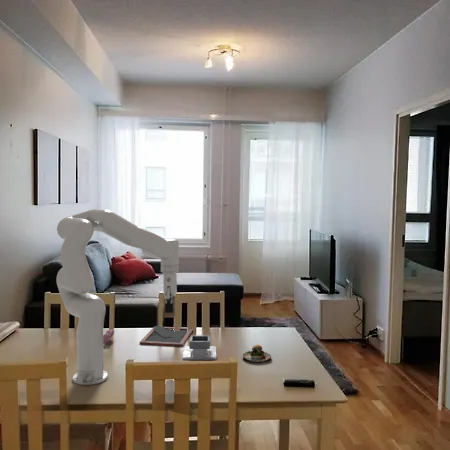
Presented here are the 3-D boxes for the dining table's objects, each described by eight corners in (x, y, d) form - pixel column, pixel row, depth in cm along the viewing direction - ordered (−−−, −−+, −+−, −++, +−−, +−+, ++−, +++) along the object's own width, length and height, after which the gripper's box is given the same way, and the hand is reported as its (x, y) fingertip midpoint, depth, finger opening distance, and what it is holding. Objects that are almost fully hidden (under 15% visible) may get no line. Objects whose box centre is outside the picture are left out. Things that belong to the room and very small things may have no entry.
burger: (238, 361, 198) (238, 344, 198) (248, 353, 209) (248, 336, 209) (265, 366, 194) (266, 348, 193) (274, 357, 204) (275, 340, 204)
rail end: (174, 317, 202) (174, 298, 201) (163, 317, 202) (163, 298, 201) (175, 314, 206) (175, 296, 206) (164, 314, 206) (164, 296, 205)
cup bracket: (216, 359, 200) (216, 343, 199) (182, 359, 199) (182, 343, 199) (216, 348, 214) (216, 333, 213) (184, 348, 213) (184, 333, 213)
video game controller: (105, 349, 216) (112, 335, 215) (96, 344, 215) (103, 331, 215) (110, 342, 225) (117, 329, 225) (102, 337, 225) (108, 324, 225)
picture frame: (154, 329, 243) (139, 345, 218) (154, 325, 243) (139, 341, 218) (193, 331, 240) (182, 348, 216) (193, 327, 240) (182, 343, 215)
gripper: (177, 271, 194) (176, 316, 195) (180, 265, 211) (179, 306, 212) (158, 271, 194) (158, 316, 195) (162, 265, 211) (162, 306, 212)
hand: (169, 310), depth 204 cm, fingers closed on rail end, 4 cm apart
